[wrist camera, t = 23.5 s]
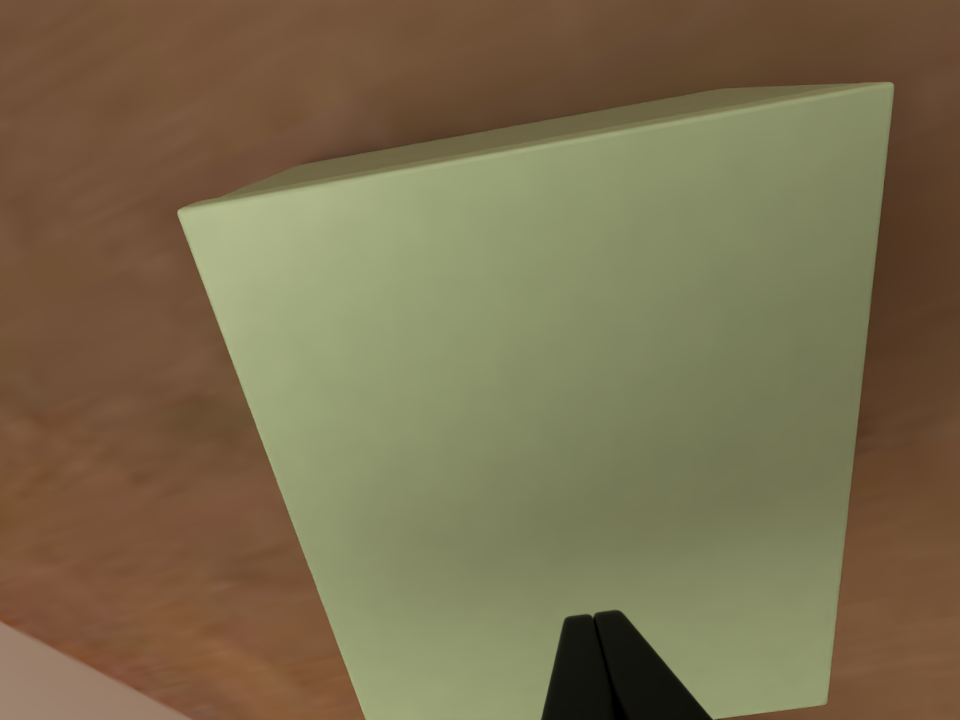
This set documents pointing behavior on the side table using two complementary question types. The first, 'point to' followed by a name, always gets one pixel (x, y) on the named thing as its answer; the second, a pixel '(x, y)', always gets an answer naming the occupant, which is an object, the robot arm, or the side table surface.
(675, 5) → the side table surface
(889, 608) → the side table surface
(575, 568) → the lid
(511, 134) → the chest
